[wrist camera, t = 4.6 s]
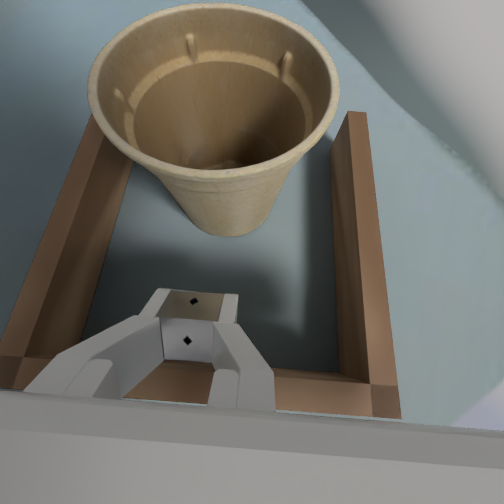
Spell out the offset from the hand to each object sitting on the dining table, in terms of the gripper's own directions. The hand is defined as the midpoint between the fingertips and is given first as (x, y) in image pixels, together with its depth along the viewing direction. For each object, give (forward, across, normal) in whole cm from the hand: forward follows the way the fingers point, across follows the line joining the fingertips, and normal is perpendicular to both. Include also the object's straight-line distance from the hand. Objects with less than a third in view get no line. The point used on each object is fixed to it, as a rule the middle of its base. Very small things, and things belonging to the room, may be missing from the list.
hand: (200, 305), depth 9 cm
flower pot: (+10, 0, -2) cm, 10 cm away
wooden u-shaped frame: (+7, 0, 0) cm, 7 cm away
